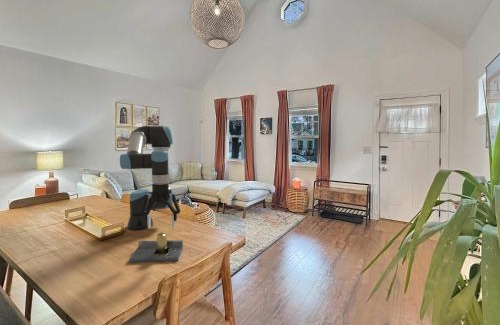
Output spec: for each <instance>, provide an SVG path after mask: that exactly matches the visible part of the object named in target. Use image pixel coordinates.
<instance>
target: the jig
mask: <svg viewBox="0 0 500 325" xmlns="http://www.w3.org/2000/svg"><path fill="white" fill-rule="evenodd" d="M183 249H184V241H183V239H172V240H171V239H170V240H167V254H157V240H139V241H138V246H137V248H136V250H134V252H133V253H132V254H131V256H129V258H128V259H129V260H128V262H129V263H157V262H158V263H159V262H160V263H162V262H178V261H179V260H180V258H181V255H182V252H183Z"/></svg>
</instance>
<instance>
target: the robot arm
mask: <svg viewBox="0 0 500 325" xmlns="http://www.w3.org/2000/svg"><path fill="white" fill-rule="evenodd" d="M128 141H129V143H128V148H127V151H126V153H123V154H120V155H119V167H120V168H121V169H122V170H142V169H144V170H145V169H146V170H148V169H151V183H152V185H151V189H152V190H151V191H150V190H149V189H147V188H146V189H139V190H134V191H133V192H131V193H130V194H129V218H128V222H127V229H128V230H132V231H141V230H147V229H148V230H150V228H152V227H153V226H154V221H153V219H152V215H151V211H153V210H165V209H169V210H170V212H172V215H171V229H174V228H176V223H175V222H177V219H178V217H177V216H178V215H179V214H180V213H181V208H180V205H179V202H178V200H177V197H176V196H177V195H176V193H175V191H174V190H173V189H172V187H171V186H170V182H169V181H170V179H169V176H170V175H169V174H170V173H169V172H170V171H169V149H171V145H173V144H174V143H173V136H172V130H171V127H169V126H164V125H143V126H139V127H137V128H135V129H134V130H132V131H131V133H130V134H129V136H128ZM144 145H151V148H152V149H153V151H152V152H151V153H144Z"/></svg>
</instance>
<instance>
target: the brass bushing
mask: <svg viewBox="0 0 500 325" xmlns="http://www.w3.org/2000/svg"><path fill="white" fill-rule="evenodd" d="M156 241H157V254H167V233H166V232H160V233H157V234H156Z"/></svg>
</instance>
